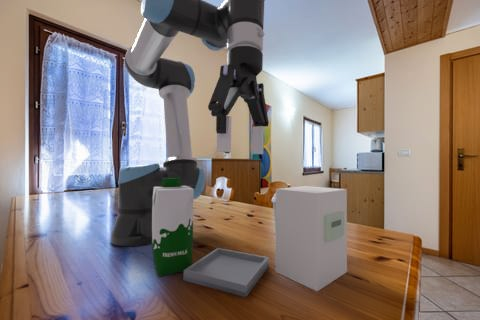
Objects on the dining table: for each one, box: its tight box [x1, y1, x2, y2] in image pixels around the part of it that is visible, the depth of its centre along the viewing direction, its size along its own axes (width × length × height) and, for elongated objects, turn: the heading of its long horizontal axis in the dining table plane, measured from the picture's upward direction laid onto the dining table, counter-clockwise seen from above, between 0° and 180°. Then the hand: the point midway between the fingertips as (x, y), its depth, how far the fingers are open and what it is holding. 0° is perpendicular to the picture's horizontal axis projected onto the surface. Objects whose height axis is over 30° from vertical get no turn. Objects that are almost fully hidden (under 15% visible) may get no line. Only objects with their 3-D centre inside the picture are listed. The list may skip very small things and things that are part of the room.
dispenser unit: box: [275, 185, 348, 292], centre depth 50 cm, size 11×12×18 cm
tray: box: [182, 247, 270, 298], centre depth 49 cm, size 14×14×2 cm
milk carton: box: [151, 178, 194, 278], centre depth 52 cm, size 9×9×20 cm
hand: (242, 153), depth 48 cm, fingers open, 13 cm apart
